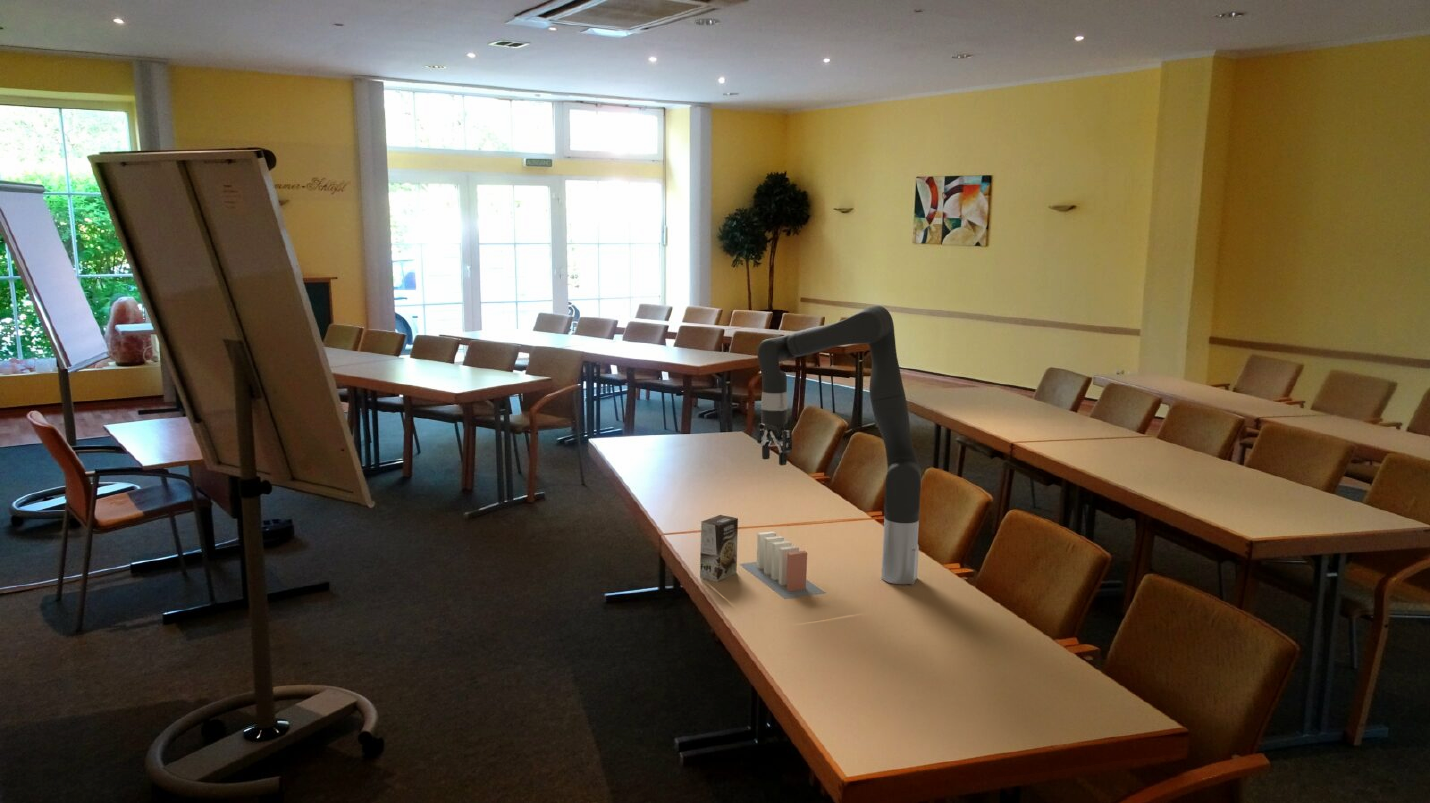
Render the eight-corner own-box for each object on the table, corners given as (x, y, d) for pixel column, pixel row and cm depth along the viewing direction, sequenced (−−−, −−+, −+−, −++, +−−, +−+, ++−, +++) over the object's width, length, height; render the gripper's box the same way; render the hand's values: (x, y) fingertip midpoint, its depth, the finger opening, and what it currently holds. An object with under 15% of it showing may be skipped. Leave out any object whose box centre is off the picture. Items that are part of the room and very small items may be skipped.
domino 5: (803, 586, 255) (804, 550, 253) (806, 588, 254) (807, 552, 252) (786, 589, 253) (787, 552, 251) (789, 591, 252) (790, 554, 250)
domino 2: (779, 570, 267) (780, 535, 266) (782, 572, 266) (783, 537, 264) (763, 572, 265) (764, 537, 264) (766, 574, 264) (767, 539, 262)
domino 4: (795, 580, 259) (796, 545, 257) (797, 582, 258) (799, 547, 256) (778, 583, 257) (779, 547, 255) (781, 585, 256) (782, 549, 254)
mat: (739, 565, 272) (739, 563, 272) (776, 560, 277) (776, 558, 276) (784, 600, 247) (784, 598, 246) (825, 593, 251) (825, 592, 251)
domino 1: (772, 565, 271) (773, 531, 270) (775, 566, 270) (776, 532, 268) (756, 567, 269) (757, 532, 268) (759, 568, 268) (760, 534, 266)
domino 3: (787, 575, 263) (788, 540, 261) (790, 577, 262) (791, 542, 260) (771, 577, 261) (772, 542, 259) (773, 579, 260) (774, 544, 258)
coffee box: (717, 583, 258) (719, 525, 255) (699, 577, 262) (699, 520, 259) (737, 574, 265) (739, 517, 262) (719, 568, 269) (720, 513, 266)
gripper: (749, 404, 280) (750, 458, 282) (777, 412, 268) (777, 468, 270) (771, 402, 284) (771, 455, 286) (799, 409, 272) (799, 465, 274)
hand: (774, 462), depth 278 cm, fingers open, 8 cm apart
